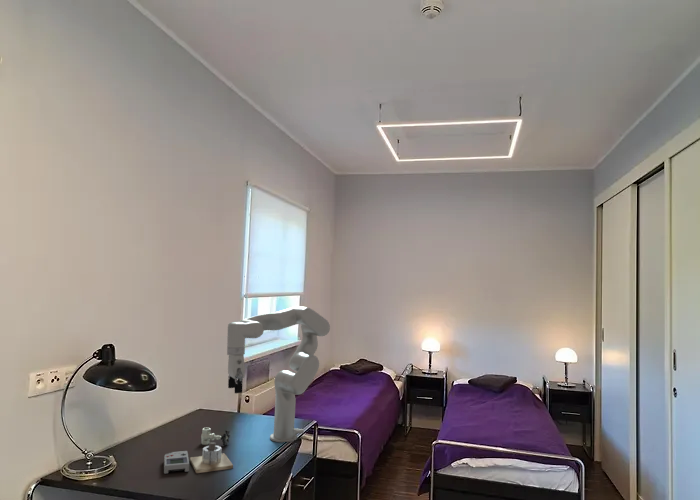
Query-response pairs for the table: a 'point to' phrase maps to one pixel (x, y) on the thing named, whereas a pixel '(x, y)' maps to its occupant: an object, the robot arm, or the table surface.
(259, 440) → the table surface
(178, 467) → the handheld gaming device
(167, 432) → the table surface
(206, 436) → the valve
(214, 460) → the hub
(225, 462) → the shaft stand
